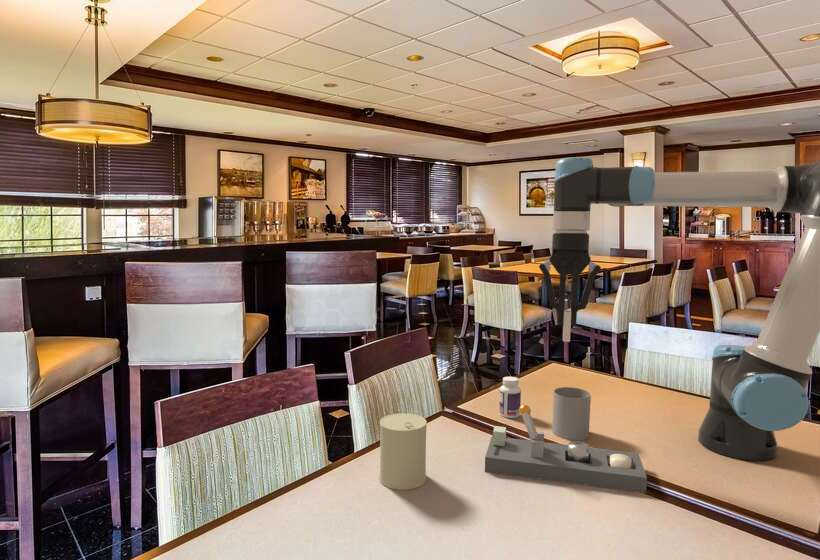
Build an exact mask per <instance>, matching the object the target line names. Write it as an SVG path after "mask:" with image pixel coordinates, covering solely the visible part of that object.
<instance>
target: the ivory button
mask: <svg viewBox="0 0 820 560" xmlns="http://www.w3.org/2000/svg"><path fill="white" fill-rule="evenodd" d="M631 465H632V459H631V458H630V457H628V456H626V455H623V454H612V455H610V466H612V467H620V468H628V469H631Z"/></svg>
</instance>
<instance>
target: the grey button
mask: <svg viewBox="0 0 820 560" xmlns="http://www.w3.org/2000/svg"><path fill="white" fill-rule="evenodd" d="M567 445H568V461H572V462H580V463H588V461H589V447H590V445H589V444H588V443H586V442H583V441H581V440H570V441H569V442H568V444H567Z"/></svg>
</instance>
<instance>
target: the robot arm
mask: <svg viewBox="0 0 820 560" xmlns="http://www.w3.org/2000/svg"><path fill="white" fill-rule="evenodd" d="M593 163H594V162H593V159H592V158H590V157H585V156H584V157H583V156H582V157H578V156H577V157H576V156H575V157H574V156H573V157H571V156H570V157H564V158H560V159H559V160H558V161H557V162H556V164H555V171H554V172H555V173H554V175H555V176H554V184H553V185H554V186H553V187H554V189H553V190H554V191H553V193H554V194H553V218H552V220H553V221H552V229H553V230H554V231H555V232H553V234H552V244H551V245H552V246H551V247H552V248H551V254H550V256H549V258H548V260H546V261H544V262H541V263H540V264H539V266H538V267H539V269H540V271H541V273H542V274H543V277H544V282H545V287H546V292H547V297H548V302H549V306H550V308H552V309H555V310H557V312H558V316H557V324H558V326H562V341H563V342H567V343H570V342H571V330H572V328H571V327H576V325H577V316H578V312H579V311H580V310H586V308H587V305H588V302H589V298H590V296H591V292H592V288H593V286H594V283H595V279H596V276H597V275H598V273H600V272H601V270H602V268H601V266H600V264H596V263H595V262H594V261H592V260H591V256H590V254H589V251H590V250H589V249H590V248H589V247H590V234H589V233H588V232H587V231H590V230H591V229H590V228H591V205H592V204H593V205H594V204H595V205H601V204H603V205H605V204H606V205H608V206H611V207H613V208H614V207H616V208H617V207H618V208H619V207H620V208H621V207H707V208H708V207H709V208H710V207H711V208H713V207H714V208H715V207H719V208H720V207H723V208H724V207H725V208H726V207H727V208H730V207H731V208H741V207H742V208H769V209H770V210H772V212H774V213H793V214H800V216H799V219H800V220H801V222H802V224H803V226H804V230H803V232H802V234H801V235H800V236H801V237H800V239H799V242H798V243H797V245H796V248H795V251H794V253H793V256H792V257H791V259H790V263H789V265H788V268H787V270H786V272H785V274H784V276H783V279H782V281H781V283H780V286H779V289H778V291H777V293H776V295H775V297H774V300H773V302H772V304H771V307H770V309H769V312H768V313H767V317H766V319H765V321H764V323H763V326H762V328H761V330H760V333H759V336H758V338H757V341H756V342H755V343H753V344H750V345H746V346H745V345H734V344H720V345H717V346H715V347H714V348H713V353H712V356H711V361H712V363H711V365H712V366H711V379H710V395H709V404H708V405H709V406H708V410H707V412H706V414H705V416H704V419H703V420H702V422H701V425H700V427H699V429H698V436H697V437H698V438H697V439H698V440H697V441H698V442H699V444H701V446H703V447H705V448H706V449H708V450H711V451H712V452H715V453H717V454H720V455H723V456H726V457H730V458H734V459H739V460H744V461H755V462H757V461H758V462H759V461H761V462H762V461H763V462H764V461H769V460H770V461H771V460H772V459H775V458H776V457H777V454H778V442H777V438H776V436H775V432H780V431H784V430H786V429H791V428H792V427H795V426H796V425H798V424H799V423H800V422H801V421H803V419H804V418H805V417H806V415H807V414H808V411H809V406H810V403H809V397H808V393H807V391H806V388H807V385H808V384H809V381H810V379H811V377H812V374H813V371H812V368H811V367H810V364H809V363H808V359H809V356H810V354H811V352H812V350H813V348H814V345H815V343H816V340H817V339H818V336H819V334H820V160H818V161H815V162H811V163H810V162H809V163H805V164H797V165H780V166H778V167H777V168H775V169H774V170H764V171H763V170H762V171H761V170H760V171H759V170H758V171H756V170H755V171H754V170H752V171H749V170H747V171H742V170H741V171H738V170H737V171H677V172H676V171H672V172H671V171H670V172H667V171H666V172H665V171H664V172H662V171H661V172H659V171H658V172H656V171H655V170H654V169H653V167H651V166H638V165H635V166H619V167H617V166H615V167H597V166H594V164H593ZM551 265H552V267H553V268H554V269H555V271H556V272H557V273H558V274H559V288H558V291H559V292H558V302H557V301H556V297H555V292H554V288H553V283H552V279H551V278H552V277H551V273H550V271H551V268H552V267H551ZM587 267H588V272H589V274H588V277H587V279H586V283H585V286H584V290H583V292H582V296H581V298H580V302H579V303H578V296H579V295H578V294H579V275H581V274H582V273H583V271H584V270H585V269H586V268H587ZM567 276H571V297H570V298H571V299H570V309H565V306H566V305H565V303H566V300H565V299H566V284H567V283H566V281H567V279H566V278H567Z"/></svg>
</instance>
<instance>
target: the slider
mask: <svg viewBox="0 0 820 560" xmlns="http://www.w3.org/2000/svg"><path fill="white" fill-rule="evenodd" d="M492 436H493V445H498V446H504V445H505V441H506V438H507V427H506V426H499V425H498V426H497V425H494V427H493V431H492Z"/></svg>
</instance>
